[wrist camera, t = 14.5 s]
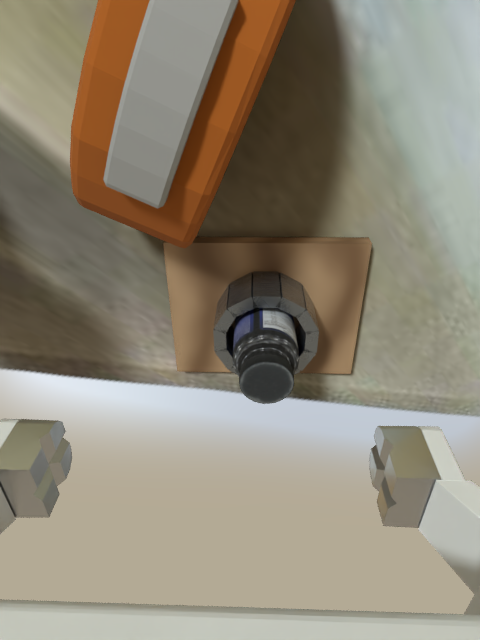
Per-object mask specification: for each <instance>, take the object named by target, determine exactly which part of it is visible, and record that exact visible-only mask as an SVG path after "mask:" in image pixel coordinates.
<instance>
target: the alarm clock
mask: <svg viewBox="0 0 480 640" xmlns="http://www.w3.org/2000/svg"><path fill="white" fill-rule="evenodd" d="M295 1H296V0H98V4H97V8H96V12H95V16H94V20H93V24H92V28H91V32H90V36H89V40H88V44H87V48H86V52H85V56H84V60H83V65H82V71H81V76H80V82H79V87H78V93H77V98H76V104H75V109H74V115H73V120H72V126H71V150H70V167H71V182H72V189H73V194H74V196H75V197H76V199H77V201H78V203H79V204H80V205H81V206H83V207H85V208H87V209H89V210H92V211H94V212H97V213H99V214H101V215H104V216H106V217H108V218H111V219H113V220H116V221H118V222H120V223H123V224H125V225H128V226H130V227H132V228H135V229H137V230H140V231H142V232H144V233H147V234H149V235H152V236H154V237H156V238H159V239H161V240H163V241H166V242H168V243H171V244H173V245H175V246H178V247H181V248H187V247H188V246H189V245H191V244H192V243H193V241H194V239H195V237H196V236H197V234H198V231H199V229H200V227H201V225H202V223H203V221H204V219H205V216H206V214H207V212H208V210H209V208H210V205H211V203H212V201H213V199H214V197H215V194H216V192H217V190H218V188H219V185H220V183H221V180H222V178H223V176H224V173H225V171H226V169H227V166H228V164H229V162H230V159H231V157H232V155H233V152H234V150H235V148H236V145H237V143H238V141H239V138H240V136H241V134H242V131H243V129H244V126H245V124H246V122H247V119H248V117H249V114H250V112H251V110H252V107H253V105H254V102H255V100H256V98H257V95H258V93H259V90H260V88H261V86H262V83H263V81H264V79H265V76H266V74H267V71H268V69H269V67H270V64H271V62H272V59H273V57H274V54H275V52H276V49H277V47H278V44H279V42H280V39H281V37H282V34H283V32H284V29H285V27H286V24H287V22H288V19H289V17H290V14H291V12H292V9H293V6H294V4H295Z"/></svg>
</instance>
